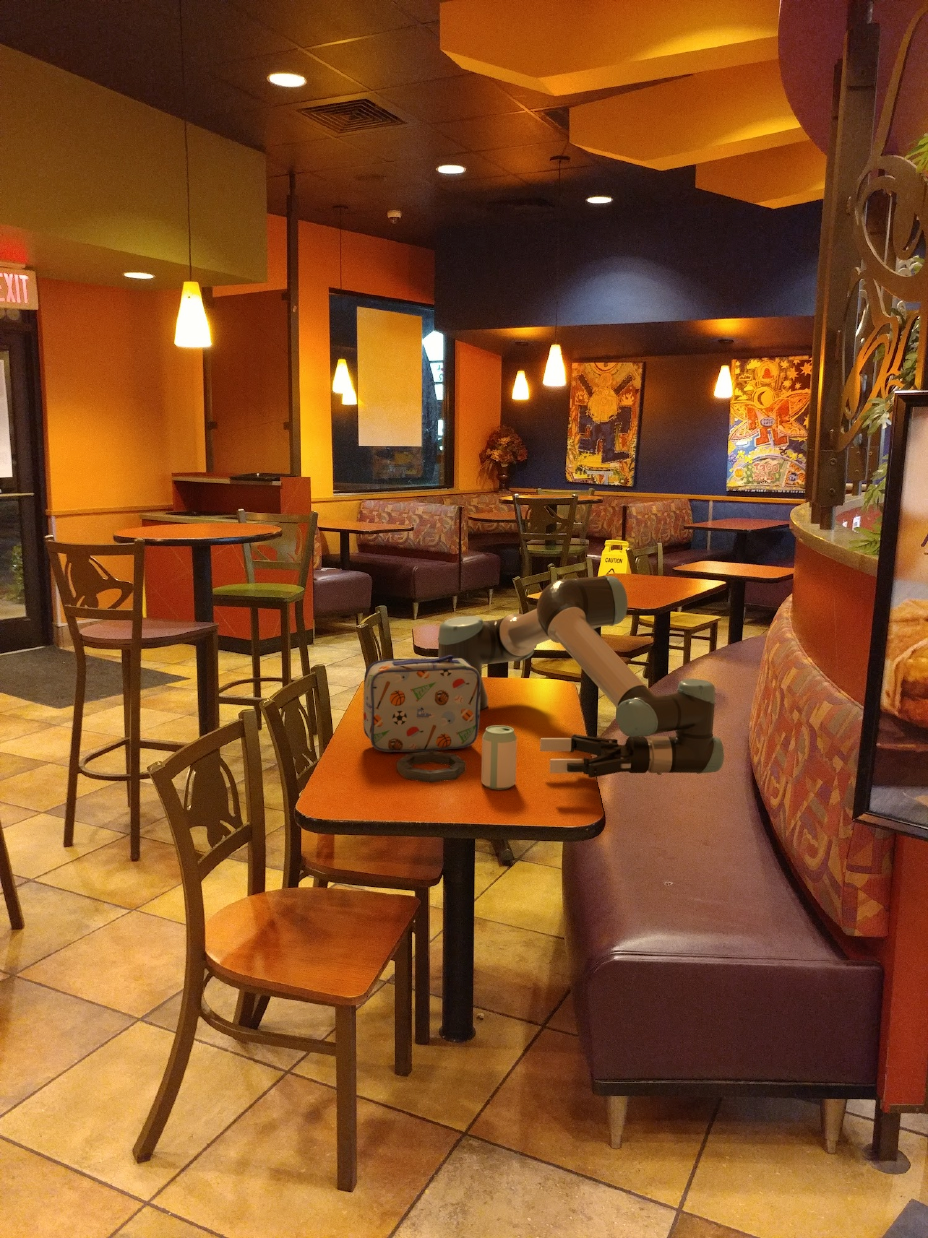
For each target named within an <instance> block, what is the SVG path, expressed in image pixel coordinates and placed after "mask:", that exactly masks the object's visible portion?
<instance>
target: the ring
mask: <svg viewBox="0 0 928 1238" xmlns="http://www.w3.org/2000/svg"><path fill="white" fill-rule="evenodd" d="M430 763H432V764H433V763H434V764H438V765H439V764H440V765H445V764H446V765H447V766H449V768H447V767H446V768H439V769H438V768H437V769H432V770H429V769H424V768H417V767H413V766H414V765H421V764H422V765H423V764H430ZM446 765H445V766H446ZM396 772H397V773H399V774H400V775H401V776H402V777H403V778H404V779H405V780H409V779H410V781H416V780H418V781H417V782H423V783H428V782H429V784H430V783H431V784H433V783H439V782H440V781H441V782H447V781H446V780H448V781H454V780H455V781H456V780H457V779H458V778H459V777H461V776H462V775H463V774H465V772H466V761H464V759H463V758H461V757H459V756H458V755H457V754H455V753H454V754H453V753H448V752H443V751H441V752H439V751H436V750H434V751H427V752H409V753H407V754H406V755H404V756H403V757H401V758H400V759H398V760H397V761H396ZM461 774H462V775H461ZM444 780H445V781H444Z"/></svg>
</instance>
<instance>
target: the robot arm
mask: <svg viewBox="0 0 928 1238" xmlns="http://www.w3.org/2000/svg"><path fill="white" fill-rule="evenodd" d="M539 595H540V596H539V597H538V599H537V603H536V608H535V609H533V610H530V611H528V612H526V613H524V614H521V613H516V612H515V613H511V614H508V615H507V616H504V617H501V618H499V619H495V620H494V619H492V620H483V619H482V617H479V616H475V615H468V616H467V615H466V616H456V617H452V618H449V619H446V620H444V621H443V622H442V623H441V624H440V625H439V630H438V636H437V641H438V652H437V653H438V654H437V655H438V657H437V658H442V657H446V656H448V655H452V656H454V658H462V659H465V660H466V661H468V662H469V663H470V665H471V666H472V667H474V668H475V669H476V670H477V671H478V672H479V675H480V681H481V683H480V711H481V710H484V709H486V708H488V703H489V701H488V700H489V699H488V694H487V690H486V687H485V684H484V680H483V677H482V675H483V674H482V673H483V665H490V664H500V663H501V664H502V663H509V662H515V663H516V662H521V661H523V660H527V659H529V658H530V657H531V656H533V654H534V653H535V649H536V648H537V645H539V644H542V643H545V642H547V641H549V640H550V641H551V642H553V643H558V644H560V645H561V646H562V647H563V649H565V651H566V653H568V655H570V656H571V658H572V659H573V660H574V661H575V662H576V663H577V664H578V666H579V667H580V668H581V669H582V671H584V673H585V674H586V675H587V676H588V677H589V678H590V679H591V681H592V682H593V683H594V684H595V685H596V686H597V687H598V688H599V689H600V691H601V692H602V693H603V695H604V696H606V698H607V699H608V700H609V701H610V702H611V704H613V705H614V707H616V712H615V721H616V723H617V724H618V729H619V730H620V732H622V734H624V735H625V736H627V738H626V740H625V743H624V744H619V742H618V741H619V740H618V739H617V738H603V737H595V736H588V735H582V734H576V733H575V734H572V735H571V737H541V738H540V739H539V742H540V745H539V746H540V747H539V749H540V750H539V751H540V752H569V753H574V752H575V751H577V752H581V753H586V754H591V755H594V756H595V757H592V758H587V757H583V758H550V759H549V773H550V774H584V775H587V776H588V778H596V777H598V778H599V777H602V776H607V775H613V774H618V773H626V772H627V773H630V774H646V773H647V772H648V773H650V774H656V775H658V776H661V775H662V773H664V774H698V775H700V774H710V773H717V772H719V771H720V770H721V769H722V767H723V765H724V761H725V760H724V759H725V753H724V745H723V741H722V740H721V739H720V738H719V737H718V736H714V734H713V733H714V732H713V730H714V720H715V719H714V718H715V707H716V687H715V685H714V684H713V683H712V682H710V681H708V680H705V679H700V678H699V679H698V678H687V679H686V678H685V679H682V680H681V681H679V682H678V686H677V689H676V692H673V693H666V694H660V695H656V694H654V693H653V692H652V690H650V689H649V688H648V687H647V685H645V683H643V681H642V680H641V679H640V678H639V677H638V676H637V674H635V673H634V671H633V670H632V669H631V668H630V667H629V666H628V665H627V663H625V661H623V660H622V658H620V656H619V655H618V654H617V653H616V652H615V651H614V650H613V648H612V647H611V646H610V645H609V644H608V643H607V642H606V641H605V640H604V639H603V638H602V637H601V635H600V634H599V633H598V632H597V631H596V629H597V628H600V627H605V626H610V627H613V626H615V625H619V624H620V623H622V622H623V621H624V620H625V617H626V616H627V611H628V605H629V603H628V602H629V601H628V595H627V592H626V588H625V586H624V584H623V583H622V581H620V580H619V578H617V577H615V576H613V575H608V576H607V575H601V576H592V577H577V578H576V577H575V578H562V579H558V580H554V581H552V582H551V583H550V584H548V585H546V587H545V588H544V589H543V590H542V591H541V593H540V594H539ZM668 732H675V736H667V735H665V736H664V735H663V736H659V735H658V734H664V733H668ZM656 734H657V736H654V735H656ZM646 737H647V738H646Z"/></svg>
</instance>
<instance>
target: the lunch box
mask: <svg viewBox="0 0 928 1238" xmlns="http://www.w3.org/2000/svg"><path fill="white" fill-rule="evenodd" d="M480 683H481V681H480V675H479V672H478V671H477V670H476V669H475V668H474V667H472V666H471V665H470V663H469V662H468V661H466V660H465V659H462V658H454V656H452V655H448V656H446V657H442V658H438V657H437V658H387V659H379V660H376V661H374V662H372V663H371V664H370V665H368V667H367V668H366V669H365V673H364V679H363V695H362V696H363V707H362V708H363V709H362V711H363V712H362V714H363V715H362V716H363V720H362V721H363V722H362V723H363V730H364V731H363V732H364V734H365V736H366V737H367V738H368V739H369V741H370V744H371V746H372V747H373V748H374V749H375V750H377V751H380V752H387V753H392V752H393V753H394V752H395V753H419V752H427V751H445V750H456V749H464V748H468V747H470V746H471V745H473V744H474V743H475V742H476V740H477V738H478V735H479V730H480V728H479V727H480V715H481V713H480V712H481V710H480Z"/></svg>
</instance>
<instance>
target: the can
mask: <svg viewBox="0 0 928 1238" xmlns="http://www.w3.org/2000/svg"><path fill="white" fill-rule="evenodd" d="M481 741H482V742H481V774H480V775H481V776H480V777H481V779H480V781H481V783H482V784H483V785H484V786H485V787H486V788H488V789H490V790H496V791H497V790H499V791H500V790H501V791H502V790H508V789H510V788H511V787H513V786H514V785H516V776H517V775H516V774H517V771H516V770H517V749H518V747H517V745H518V737H517V735H516V733H515V729H514V728H513V727H511V726H508V725H503V724H501V725H500V724H499V725H496V724H495V725H490V726H487V727H486V728H485V731H484V733H483V735H482V739H481Z"/></svg>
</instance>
